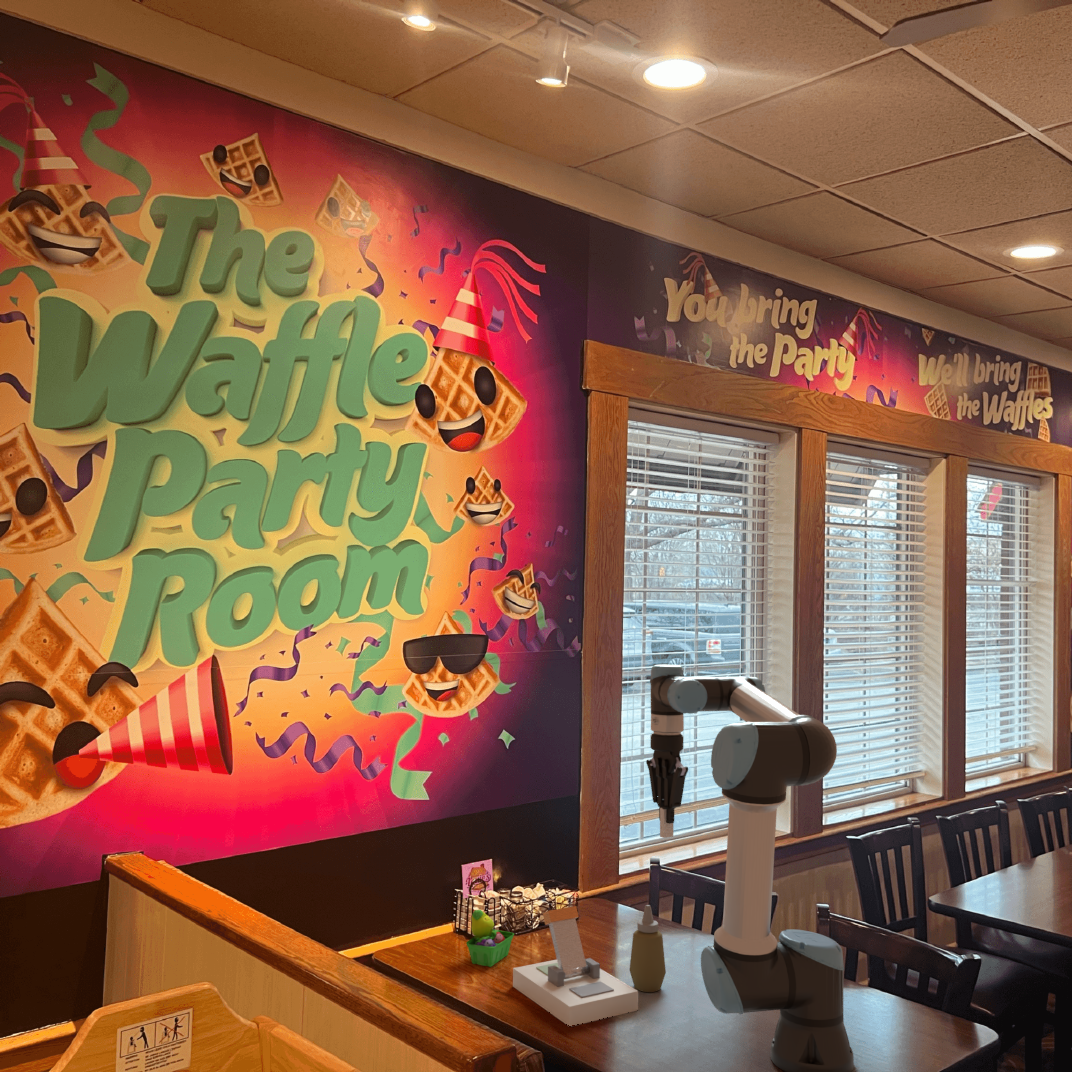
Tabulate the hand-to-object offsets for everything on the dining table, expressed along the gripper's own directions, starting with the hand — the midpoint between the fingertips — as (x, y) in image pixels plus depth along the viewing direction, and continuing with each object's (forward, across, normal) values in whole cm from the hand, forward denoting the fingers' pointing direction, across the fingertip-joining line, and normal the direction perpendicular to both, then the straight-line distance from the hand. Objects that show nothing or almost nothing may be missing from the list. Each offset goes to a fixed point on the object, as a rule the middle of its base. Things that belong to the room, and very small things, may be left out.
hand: (666, 836), depth 233 cm
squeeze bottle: (+33, +1, -6) cm, 33 cm away
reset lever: (+27, -2, -24) cm, 36 cm away
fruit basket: (+33, -32, -29) cm, 54 cm away
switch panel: (+32, -2, -24) cm, 40 cm away
